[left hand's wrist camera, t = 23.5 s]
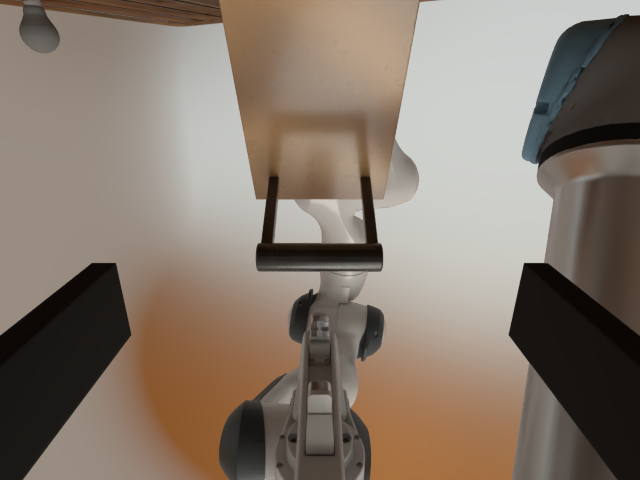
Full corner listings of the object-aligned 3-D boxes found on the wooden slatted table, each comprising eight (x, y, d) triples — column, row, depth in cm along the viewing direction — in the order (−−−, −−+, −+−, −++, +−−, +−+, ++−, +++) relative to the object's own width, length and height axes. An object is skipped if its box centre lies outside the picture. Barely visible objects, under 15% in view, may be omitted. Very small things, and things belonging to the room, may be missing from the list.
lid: (382, 191, 30) (395, 286, 25) (257, 191, 30) (243, 286, 25) (423, -42, 18) (464, 48, 13) (215, -42, 18) (172, 48, 13)
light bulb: (40, -13, 67) (55, 52, 71) (55, -6, 72) (68, 54, 76) (1, -15, 66) (18, 51, 69) (18, -7, 71) (33, 53, 75)
